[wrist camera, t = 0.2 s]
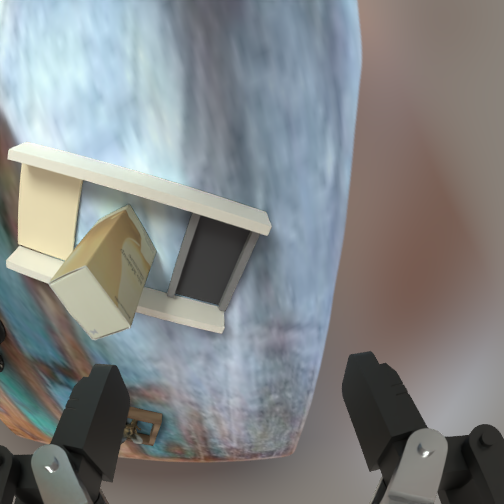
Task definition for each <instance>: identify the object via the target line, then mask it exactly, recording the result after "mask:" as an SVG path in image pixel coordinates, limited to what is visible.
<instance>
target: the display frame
mask: <svg viewBox="0 0 504 504" xmlns="http://www.w3.org/2000/svg"><path fill="white" fill-rule="evenodd" d="M127 418H131V419H135V420H139V421H143V422H148V423H152V424H153V426H152V429H151V432H150V435H145V434H141V433H138V434H139V435H140V437H141V439H142V440H143V443H141V444H146V445H151V446H153V445H154V442H155V439H156V436H157V434H158V431H159V428H160V426H161V422H162V414H160V413H156V412H151V411H147V410H142V409H138V408H134V407H130V409H129V413H128V417H127ZM133 434H135V433H134V432H133ZM126 440H128V441H132V440H131V439H130V438H128V437H127V439H126ZM132 442H133V441H132Z"/></svg>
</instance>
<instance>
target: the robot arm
mask: <svg viewBox="0 0 504 504" xmlns="http://www.w3.org/2000/svg"><path fill="white" fill-rule="evenodd" d="M342 394H343V399H344V402H345V404H346V407H347V410H348V412H349V415H350V418H351V421H352V423H353V426H354V428H355V432H356V435H357V437H358V440H359V443H360V446H361V449H362V451H363V454H364V457H365V460H366V463H367V466H368V468H369V471H370V472H371V471H374V470H378V469H380V470H381V473H382V477H381V479H380V481H379V484H378V486H377V488H376V490H375V493H374V495H373V497H372V499H371V501H370V503H369V504H434V501H435V498H436V494H437V492H438V495H439V498H440V501H441V504H504V439H503V437H502V435H501V433H500V432H499V431H498V430H497V429H496V428H495V427H493V426H491V425H488V424H482V425H479V426H477V427H475V428H474V429H473V430H472V431H471V433H470V434H469V435H465V436H453V437H444V436H443V435H442V434H441V433H440V432H438V431H436V430H434V429H429V428H428V427H427V426H426V424H425V422H424V420H423V418H422V417H421V415H420V413H419V411H418V409H417V407H416V406H415V404H414V402H413V400H412V398H411V397H410V395H409V394H408V393H407V389H406V388H405V386H404V385H403V382H402V381H401V379H400V377H399V375H398V374H397V372H396V371H395V370H394V369H392V368H391V367H390V366H389V365H388V364H386V363H383V364H379V363H378V361H377V359H376V357H375V355H374V354H373V353H372V352H371V351H369V352H363V353H357V354H351V355H350V356H349V358H348V362H347V367H346V370H345V375H344V379H343V383H342ZM69 398H70V399H69V400H68V402H67V404H66V406H65V407H66V409H64V411H63V414H62V416H61V418H60V421H59V423H58V426H57V428H56V431H55V433H54V436H53V439H52V441H51V443H50V444H48V445H44V446H41V447H40V448H38V449H37V450H36V451H35V452H34V454H32V455H13V454H12V453H11V452H10V451H9V450H8V449H7V448H6V447H4V446H1V445H0V504H12V502H13V498H14V496H15V497H16V499H15V503H14V504H109V503H108V501H107V499H106V497H105V496H104V494H103V492H102V490H101V489H100V485H101V481H102V480H103V481H108V482H113V477H114V473H115V468H116V463H117V459H118V454H119V450H120V445H121V441H122V437H123V433H124V429H125V425H126V421H127V417H128V413H129V409H130V397H129V393H128V391H127V388H126V386H125V384H124V381H123V379H122V377H121V374H120V372H119V369H118V367H117V366H116V365H106V364H95V365H94V366H93V368H92V371H91V373H90V375H89V377H83V378H82V379H81V380H80V381H79V382H78V383H77V384H76V385H75V386H74V388H73V390H72V393H71V395H70V397H69Z"/></svg>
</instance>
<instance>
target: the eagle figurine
mask: <svg viewBox="0 0 504 504" xmlns="http://www.w3.org/2000/svg"><path fill="white" fill-rule="evenodd" d="M137 421H138V420H135V419H134V420H132V422H131V423H130V424H128V425H125V429H124V433H123V437H122V441H121V444H122V443H123V442H125V441H126V439H127V437H128V438H130V439H131V440H132V441H133V442H134V443H137V444H141V443H143V440H142V439H141V437H140V435H139V434H138V433H137V430H136V428H137V429H138V430H141V429H140V428H138V426H137ZM133 431H134V433H135V434H133Z"/></svg>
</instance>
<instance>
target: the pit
mask: <svg viewBox="0 0 504 504" xmlns="http://www.w3.org/2000/svg"><path fill="white" fill-rule="evenodd" d="M259 235H260V233H257V232H253V231H250V230H247V229H244V228H241V227H238V226H234V225H231V224H228V223H225V222H222V221H219V220H215V219H212V218H209V217H206V216H202V215H199V214H196V213H193V212H192V215H191V218H190V220H189V223H188V227H187V230H186V233H185V236H184V239H183V242H182V245H181V248H180V251H179V255H178V258H177V261H176V264H175V268H174V271H173V274H172V278H171V281H170V284H169V288H168V292H167V296H168V297H172V298H174V295H175V293H176V294H179V295H183V296H187V297H190V298H194V299H198V300H202V301H206V302H210V303H214V304H218V305H219V310H222V311H226V309H227V306H228V304H229V302H230V300H231V297H232V295H233V293H234V291H235V289H236V286H237V284H238V282H239V280H240V278H241V275H242V273H243V271H244V269H245V266H246V264H247V262H248V260H249V258H250V255H251V253H252V251H253V249H254V247H255V244H256V242H257V240H258V238H259Z"/></svg>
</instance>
